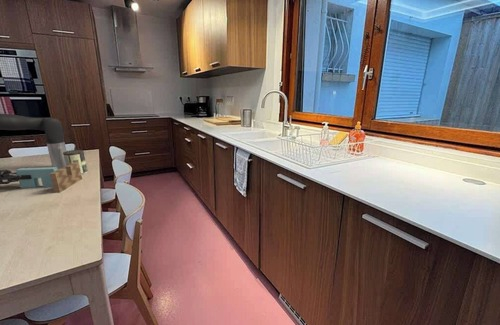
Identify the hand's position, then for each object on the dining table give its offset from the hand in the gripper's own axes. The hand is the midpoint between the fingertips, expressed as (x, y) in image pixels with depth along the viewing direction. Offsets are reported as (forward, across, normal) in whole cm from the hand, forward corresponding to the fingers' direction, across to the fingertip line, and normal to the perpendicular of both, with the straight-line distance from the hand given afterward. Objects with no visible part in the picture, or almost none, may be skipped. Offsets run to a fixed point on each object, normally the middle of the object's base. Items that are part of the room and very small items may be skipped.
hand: (33, 175), depth 126 cm
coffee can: (+10, +21, +6) cm, 24 cm away
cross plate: (+3, 0, +6) cm, 7 cm away
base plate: (+17, 0, +6) cm, 18 cm away
